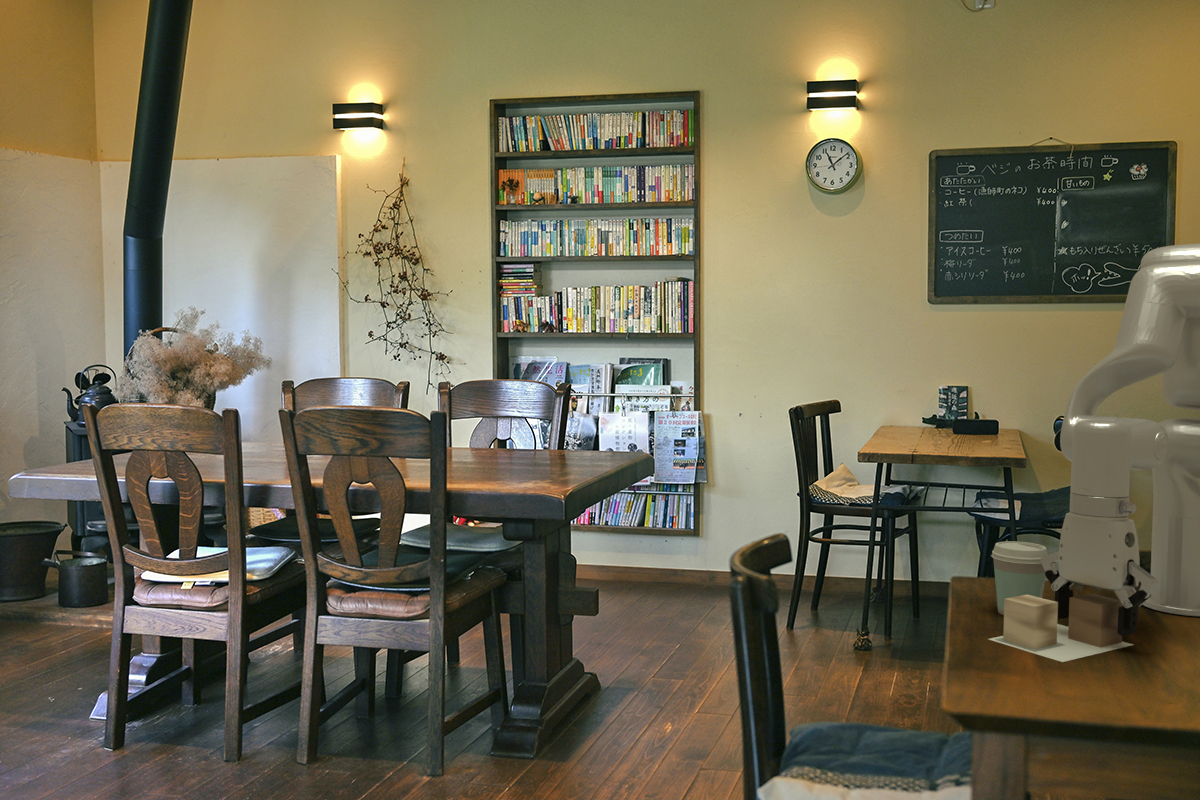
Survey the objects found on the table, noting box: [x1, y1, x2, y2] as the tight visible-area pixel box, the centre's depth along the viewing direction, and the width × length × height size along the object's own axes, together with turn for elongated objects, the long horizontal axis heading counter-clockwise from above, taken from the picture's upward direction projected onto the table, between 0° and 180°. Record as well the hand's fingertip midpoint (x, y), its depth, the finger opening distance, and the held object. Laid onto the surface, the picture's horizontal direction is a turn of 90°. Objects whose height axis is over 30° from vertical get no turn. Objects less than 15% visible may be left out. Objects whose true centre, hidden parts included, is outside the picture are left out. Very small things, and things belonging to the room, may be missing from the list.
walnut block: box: [1068, 593, 1123, 648], centre depth 144 cm, size 5×5×6 cm
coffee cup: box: [990, 540, 1049, 616], centre depth 158 cm, size 8×9×12 cm
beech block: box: [1002, 595, 1058, 649], centre depth 143 cm, size 5×5×6 cm
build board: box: [988, 623, 1134, 663], centre depth 143 cm, size 16×12×1 cm
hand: (1094, 625), depth 144 cm, fingers open, 9 cm apart
